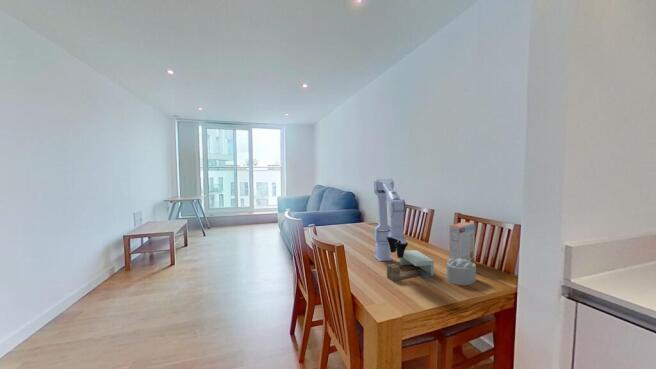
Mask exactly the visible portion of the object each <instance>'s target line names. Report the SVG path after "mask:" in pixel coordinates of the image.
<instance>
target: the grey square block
mask: <svg viewBox="0 0 656 369" xmlns="http://www.w3.org/2000/svg"><path fill="white" fill-rule="evenodd" d="M418 276H420V277H422V278H424V279H427V278H431V277H432V276H433V275H432V274H430V273H428V272H426V271H424V272H419V275H418Z"/></svg>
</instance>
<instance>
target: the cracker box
mask: <svg viewBox="0 0 656 369" xmlns="http://www.w3.org/2000/svg"><path fill="white" fill-rule="evenodd" d="M475 225H476V224H475V223H474V222H468V221H463V222H458V223H453V224H449V259H451V258H454V259H458V258H462V259H465V260H469V261H471V262H472V263H475V238H476V237H475V236H476V235H475V233H476V232H475V230H476V229H475V228H476V227H475Z"/></svg>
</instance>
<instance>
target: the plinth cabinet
mask: <svg viewBox="0 0 656 369" xmlns="http://www.w3.org/2000/svg"><path fill="white" fill-rule="evenodd" d="M434 263H435V262H434V260H433V259H432V258H430V257H429V256H426V255H425V254H423V253H422V252H420V251H418V250H417V249H415V250H413V249H411V250H405V251H404V254H403V258H399V266H406V265H413V266H415V267H418V268H419V269H422V270H424V271H426V272H428V273H430V274H432V276H434V266H435V265H434Z"/></svg>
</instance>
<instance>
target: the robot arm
mask: <svg viewBox="0 0 656 369" xmlns="http://www.w3.org/2000/svg"><path fill="white" fill-rule="evenodd" d="M394 186H395V183H394V179H392V178H386V179H385V178H380V179H379V178H375V179H374V181H373V192H374V195H375V196H377V206H378V207H377V209H378V211H377V212H378V225H377V226H375V227H374V230H373V240H374V242H375V244H374V254H373V257H374V258H375V259H377V261H379V262H385V261H387V262H388V261H394V259H393V258H392V257H391V253H396V255H397V256H396V257H397V259H400V258H403V254H404V251H406V248H407V247H408V245H409V243H408V242H407V239H406V238H405V236H404V212H406V208H407V206H406V202H405V199H403V198H400V195H399V194H398V192H397V191H396V190H394ZM387 202H388V203H387ZM388 210H389V211H388ZM388 212H389V216H390V225H389V224H388V223H389V222H388Z"/></svg>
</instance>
